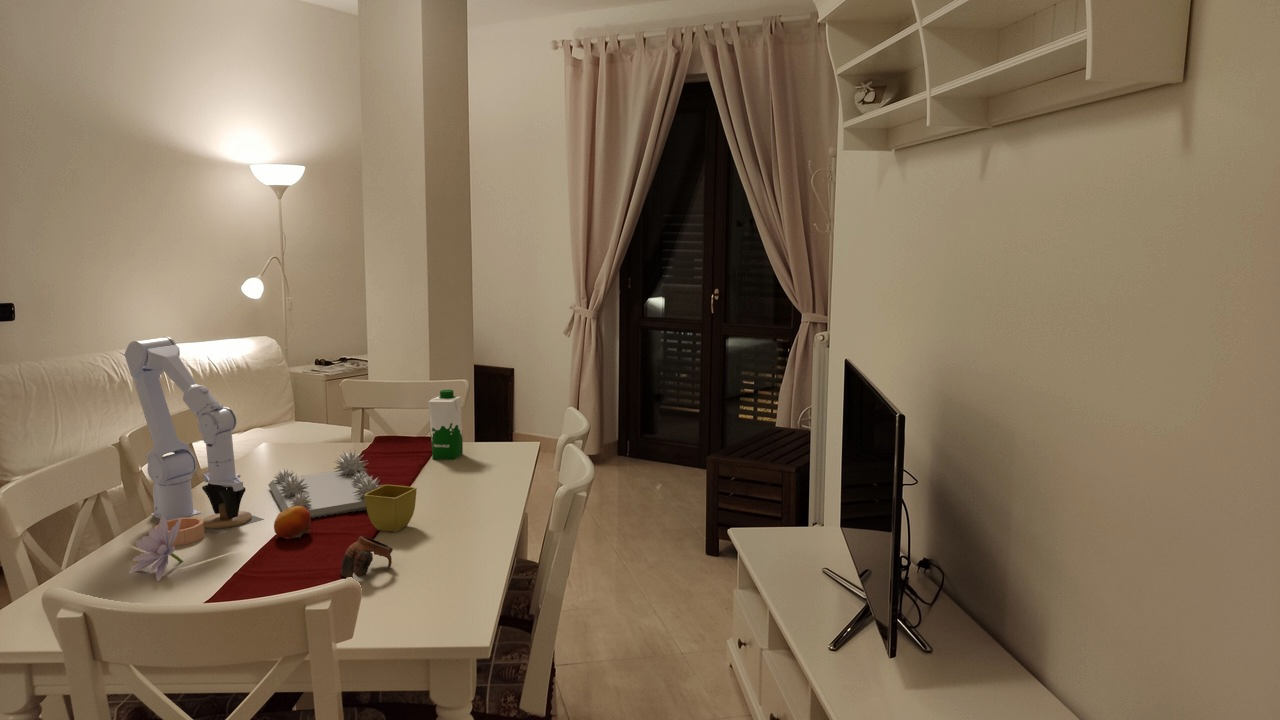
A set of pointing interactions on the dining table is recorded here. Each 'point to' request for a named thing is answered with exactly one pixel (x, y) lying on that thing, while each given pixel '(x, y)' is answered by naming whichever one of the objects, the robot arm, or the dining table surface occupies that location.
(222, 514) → the lid
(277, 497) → the decorative tray
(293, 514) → the fruit
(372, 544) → the pottery mug
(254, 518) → the mat
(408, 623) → the dining table surface
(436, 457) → the milk carton
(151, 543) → the water lily
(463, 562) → the dining table surface
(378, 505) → the flower pot
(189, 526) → the bowl
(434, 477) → the dining table surface
